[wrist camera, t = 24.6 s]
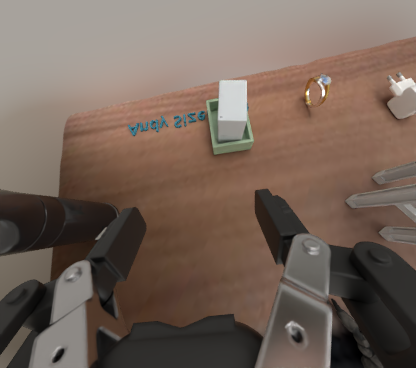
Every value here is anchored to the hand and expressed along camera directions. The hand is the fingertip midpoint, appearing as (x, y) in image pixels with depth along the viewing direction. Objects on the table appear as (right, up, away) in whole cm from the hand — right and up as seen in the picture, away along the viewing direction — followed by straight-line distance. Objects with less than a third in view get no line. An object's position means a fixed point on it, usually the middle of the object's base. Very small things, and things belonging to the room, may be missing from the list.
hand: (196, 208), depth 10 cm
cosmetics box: (+7, +17, +32) cm, 37 cm away
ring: (+29, +24, +32) cm, 50 cm away
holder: (+7, +17, +33) cm, 38 cm away
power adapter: (+50, +24, +30) cm, 63 cm away
